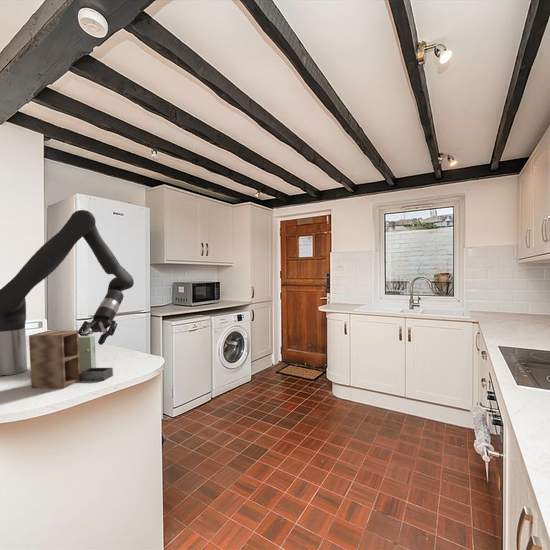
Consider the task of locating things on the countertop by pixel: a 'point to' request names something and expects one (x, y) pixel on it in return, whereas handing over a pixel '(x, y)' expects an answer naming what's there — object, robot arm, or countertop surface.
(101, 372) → the dark grey rectangular frame
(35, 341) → the cabinet
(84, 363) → the sage green block
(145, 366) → the countertop surface
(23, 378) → the countertop surface
